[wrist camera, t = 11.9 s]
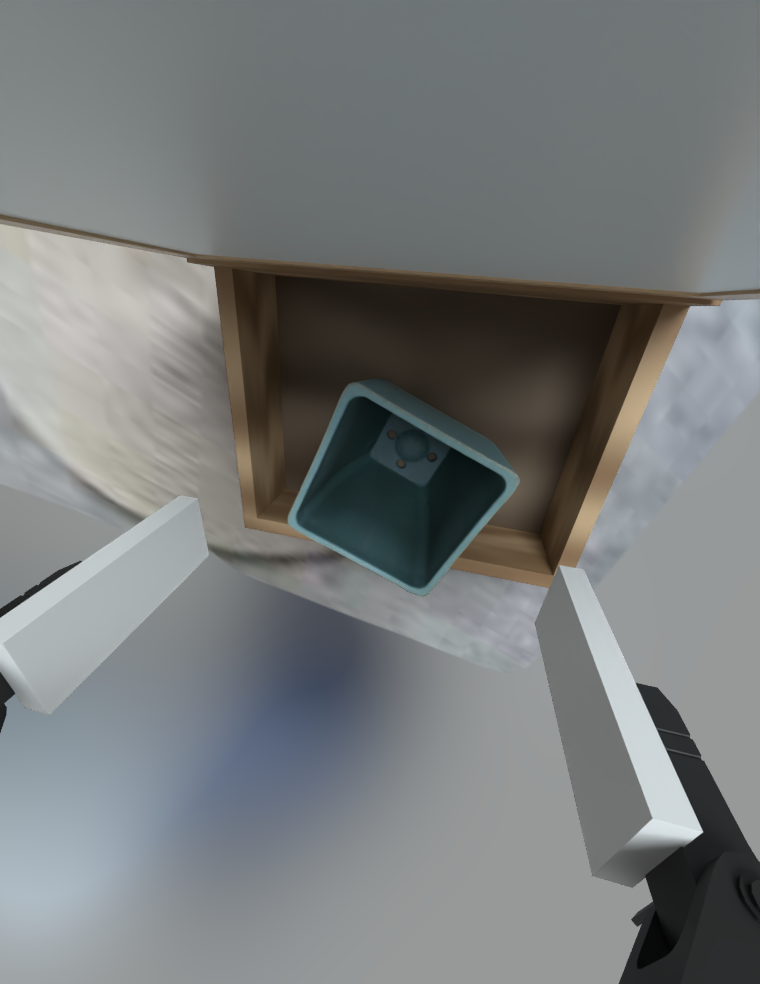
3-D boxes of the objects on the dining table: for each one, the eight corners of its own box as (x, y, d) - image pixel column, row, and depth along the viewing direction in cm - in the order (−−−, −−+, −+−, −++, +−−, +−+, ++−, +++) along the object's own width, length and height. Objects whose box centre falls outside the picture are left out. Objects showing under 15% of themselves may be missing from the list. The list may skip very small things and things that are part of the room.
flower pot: (506, 422, 23) (526, 480, 15) (435, 518, 27) (423, 602, 20) (388, 354, 23) (348, 377, 15) (335, 462, 27) (283, 524, 19)
